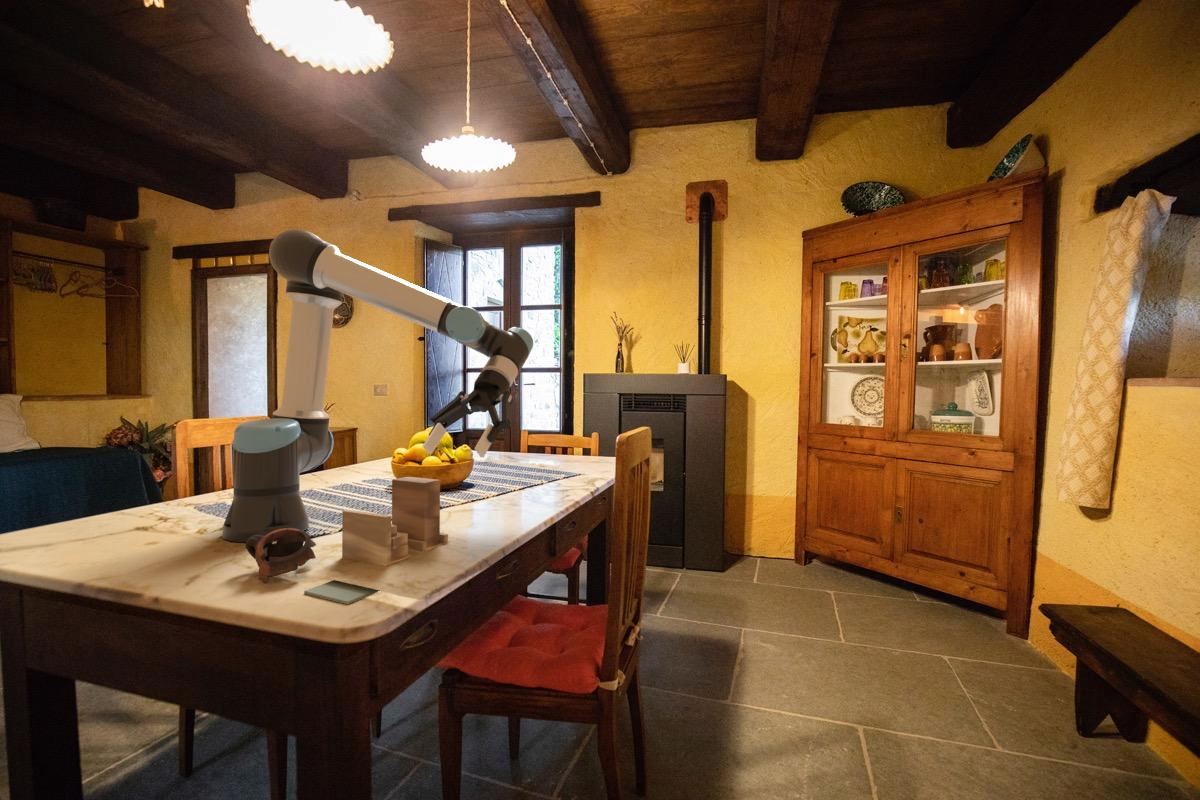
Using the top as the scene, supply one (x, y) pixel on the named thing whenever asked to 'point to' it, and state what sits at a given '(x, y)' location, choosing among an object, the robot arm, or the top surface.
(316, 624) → the top surface
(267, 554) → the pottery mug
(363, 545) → the rack
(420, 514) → the brown rectangular block
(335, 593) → the felt mat
